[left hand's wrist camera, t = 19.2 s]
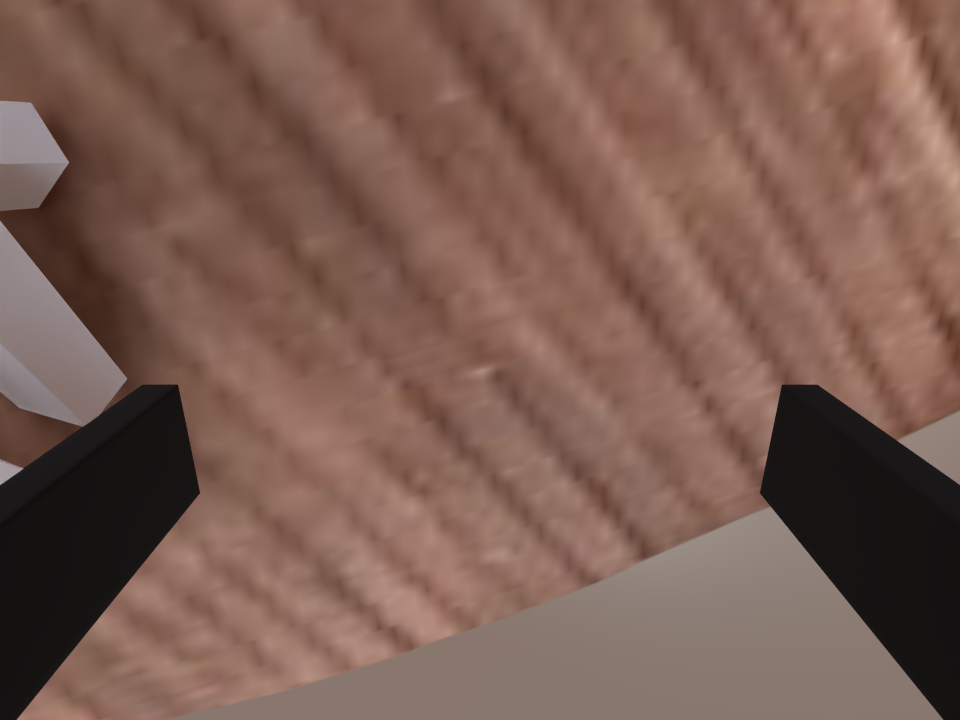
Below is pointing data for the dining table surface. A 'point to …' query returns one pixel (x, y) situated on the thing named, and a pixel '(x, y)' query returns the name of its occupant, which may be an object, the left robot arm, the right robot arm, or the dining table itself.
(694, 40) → the dining table surface
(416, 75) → the dining table surface
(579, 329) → the dining table surface
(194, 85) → the dining table surface
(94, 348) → the pile of blocks
